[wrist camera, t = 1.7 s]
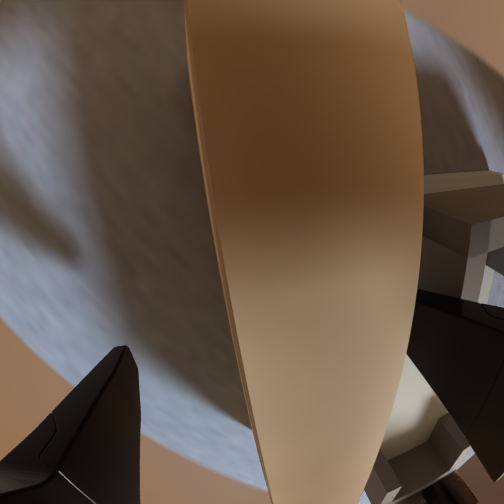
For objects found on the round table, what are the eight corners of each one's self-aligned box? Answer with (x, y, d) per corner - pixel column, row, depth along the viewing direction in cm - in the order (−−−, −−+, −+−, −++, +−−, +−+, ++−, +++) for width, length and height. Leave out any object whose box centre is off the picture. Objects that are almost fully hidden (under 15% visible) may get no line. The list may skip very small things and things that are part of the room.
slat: (280, 60, 9) (394, -22, 3) (307, 414, 15) (352, 514, 9) (187, 69, 8) (183, -38, 2) (251, 427, 14) (281, 535, 8)
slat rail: (490, 170, 12) (561, 190, 7) (426, 437, 19) (452, 472, 15) (384, 178, 11) (472, 206, 6) (352, 470, 18) (374, 514, 14)
